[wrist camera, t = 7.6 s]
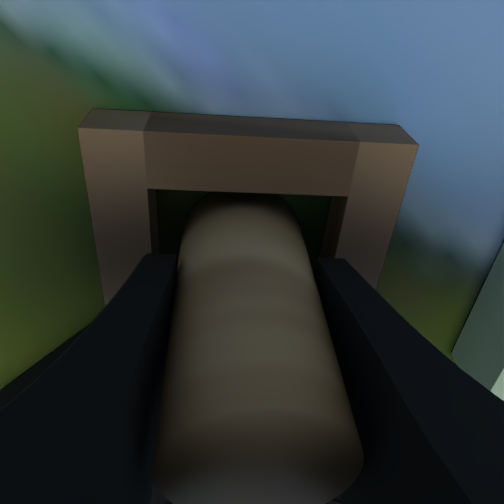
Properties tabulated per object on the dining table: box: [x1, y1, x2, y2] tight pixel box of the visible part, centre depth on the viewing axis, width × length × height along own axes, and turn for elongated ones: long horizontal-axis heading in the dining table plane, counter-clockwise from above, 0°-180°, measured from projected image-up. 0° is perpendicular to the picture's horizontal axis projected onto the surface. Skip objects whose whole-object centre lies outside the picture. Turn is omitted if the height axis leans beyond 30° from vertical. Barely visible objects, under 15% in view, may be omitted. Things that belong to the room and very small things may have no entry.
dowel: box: [152, 191, 364, 504], centre depth 9 cm, size 3×3×6 cm
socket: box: [77, 109, 419, 306], centre depth 11 cm, size 7×7×1 cm
